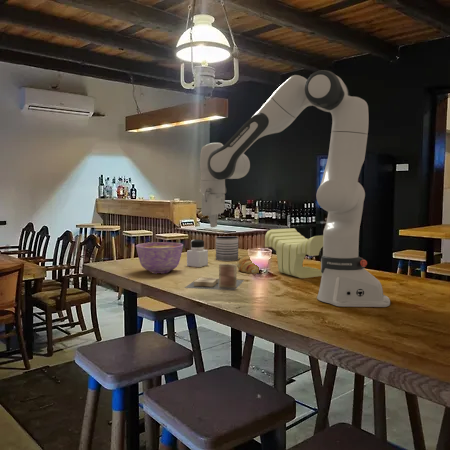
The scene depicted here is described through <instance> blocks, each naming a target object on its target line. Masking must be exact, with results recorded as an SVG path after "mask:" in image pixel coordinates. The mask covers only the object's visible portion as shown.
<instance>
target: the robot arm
mask: <svg viewBox="0 0 450 450" xmlns="http://www.w3.org/2000/svg"><path fill="white" fill-rule="evenodd" d="M312 106H313V107H314V108H316V109H318V110H320V111H323V112H325V113H328V114H331V119H332V121H331V123H332V124H331V131H330V132H331V133H330V141H329V149H328V154H327V155H328V156H327V161H326V165H325V167H324V170H323V175H322V179H321V182H320V185H319V186H318V188H317V191H316V195H315V196H316V201H317V204H318V206H319V207H320V208H321V209H323V210H324V211H326V212H327V217H326V222H325V225H324V228H323V234H322V235H323V247H322V255H321V257H320V270H321V272H322V276H320V277H321V278H320V284H319V290H318V294H317V296H316V299H317V300H318V301H320V302H323V303H327V304H331V305H333V306H336V307H345V308H346V307H354V308H356V307H357V308H358V307H359V308H363V307H364V308H365V307H367V308H368V307H369V308H370V307H371V308H373V307H374V308H386V307H389V306H391V299H390V298H389V297H388V296H387V295H385V294H384V290H383V289H384V288H383V285H382V283H381V281H380V280H379V279H378V278H376V277H375V276H374V275H373V274H371V273H370V272H369V271H368V270H367V269H366V268H365V267H366V266H367V265H368V261H367V260H366V259H364V258H363V257H360V256H359V252H360V251H359V250H360V249H359V245H360V244H359V243H360V242H359V241H360V230H361V229H360V228H361V227H360V226H361V222H362V216H363V212H364V211H363V210H364V201H365V197H366V192H365V188H364V187H363V185H362V184H361V183H360V182H359V177H360V174H361V170H362V167H363V164H364V161H365V157H366V151H367V144H368V137H369V135H368V133H369V125H370V124H369V122H370V121H369V105H368V103H367V101H366V100H365V99H363V98H361V97H359V96H351V95H350V92H349V89H348V86H347V85H346V83H345V82H344V81H343V80H342V78H341V77H340V76H338V75H336V74H335V73H334V72H332V71H330V70H325V69H324V70H323V69H321V70H318V71H315V72H313V73H312V74H310V75H309V77H308V78H306V77H304V76H301V75H299V74H294V75H291V76H289V77H288V79H286V80H285V81H284V82H283V83H282V84H281V85H280V86H278V88H276V90H274V91H273V93H272V94H271V96H270V97H269V98H268V99H267V100H266V102H264V103H263V104H262V106H261V107H260V108H259V109H258V110H257V111H256V112H255V113H254V114H253V115H252V116H251V117H250V118H249V119H248V120H247V121H246V122H245V123H244V124H243V125H242V126H241V127H240V128H239V129H238V130H237V131H236V132H235V133H234V135H232V137H231V138H230V139H229V140H228V141H227V142H226V143H225V144H223V143H221V142H210V143H206V144H205V145H203V146H202V147H201V150H200V155H199V168H200V169H199V170H200V174H201V175H200V181H199V182H200V194H201V215H202V216H206V217H207V216H208V219H209V226H210V228H217V226H218V219H219V214H224V212H225V205H226V204H225V203H226V201H225V200H226V195H225V194H226V193H227V187H226V180H228V179H229V180H233V179H237V180H238V179H241V178H244V177H246V176H247V175H248V173H249V172H250V169H251V161H250V158H249V157H248V155H246V154H245V152H246V151H247V150H248V149H250V147H251V146H252V145H254V143H255V142H257V140H259V139H261V138H263V137H265V136H268V135H274V134H278V133H281V132H283V131H284V130H285V129H287V128H288V127H289V126H290V125H291V124H293V122H294V121H295V120H296V119H297V117H298V116H299V115H300V114H301V113H302V112H303V111H304V110H305V109H306V108H307V107H312Z"/></svg>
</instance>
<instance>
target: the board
mask: <svg viewBox="0 0 450 450" xmlns="http://www.w3.org/2000/svg"><path fill="white" fill-rule="evenodd" d="M244 281H245V279H236V288H233V287H219V278H218V283H217V284H216V285H214V286H213V287H209V286H194V281H192V282H191V283H189V284H188V285H187V286H184V288H185V289H200V290H201V289H202V290H218V291H220V290H221V291H236V290H237V288H239V286H240V285H241V284H242V283H243V282H244Z"/></svg>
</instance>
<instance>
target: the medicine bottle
mask: <svg viewBox="0 0 450 450" xmlns="http://www.w3.org/2000/svg"><path fill="white" fill-rule="evenodd" d="M208 264H209V250H208V249H205V241H204V240H203V239H192V240H191V241H190V249H189V250H187V251H186V266H187V267H192V268H193V267H194V268H202V267H206V266H208Z"/></svg>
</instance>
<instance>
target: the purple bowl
mask: <svg viewBox="0 0 450 450" xmlns="http://www.w3.org/2000/svg"><path fill="white" fill-rule="evenodd" d="M135 248H136V252H137V256H138V260H139V263H140V265H141V267H142V268H143V269H144V270H146V271H148V272H150V273H151V272H152V274H157V273H161V274H167V273H170V272H171V271H173V270H175V269H176V268H177V267H178V266H179V265H180V261H181V257H182V252H183V248H184V244H183V243H180V242H171V241H170V242H169V241H168V242H167V241H166V242H165V241H163V242H161V241H160V242H157V241H156V242H145V243H138V244H136V245H135Z"/></svg>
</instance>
